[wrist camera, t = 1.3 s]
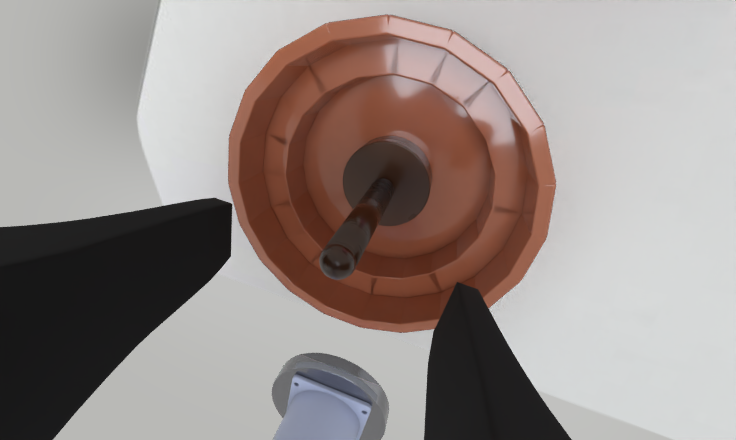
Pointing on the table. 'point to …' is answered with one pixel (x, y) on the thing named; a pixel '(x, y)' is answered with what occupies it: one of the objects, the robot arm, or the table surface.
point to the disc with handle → (377, 198)
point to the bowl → (403, 119)
